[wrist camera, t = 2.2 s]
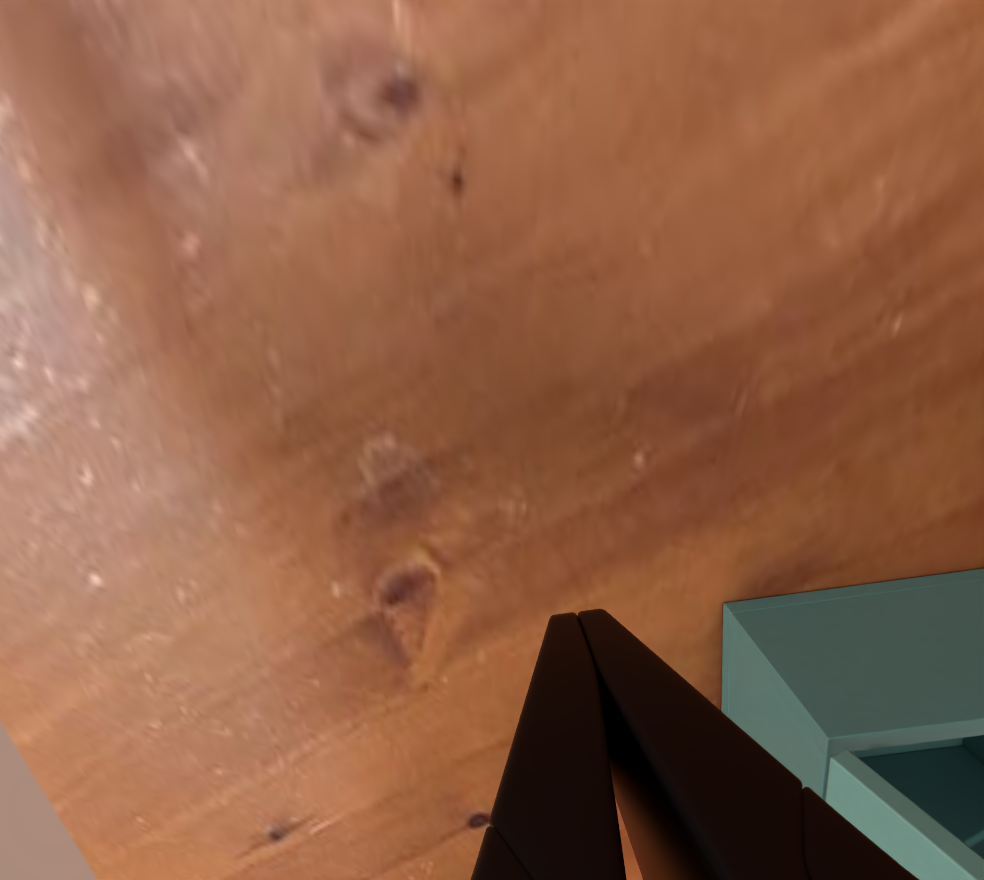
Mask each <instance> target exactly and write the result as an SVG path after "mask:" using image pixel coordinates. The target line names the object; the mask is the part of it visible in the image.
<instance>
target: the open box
mask: <svg viewBox="0 0 984 880" xmlns="http://www.w3.org/2000/svg"><path fill="white" fill-rule="evenodd" d="M721 711H722V712H723V713H724V714H725V715H726V716H727V717H729V718H730V719H731V720H732V721H733V722H734V723H735V724H737V725H738V726H739V727H740V728H741V729H742V730H743V731H745V732H746V733H747V734H748V735H749V736H750V737H752V738H753V739H754V740H755V741H756V742H757V743H758V744H760V745H761V746H762V747H763V748H764V749H765V750H766V751H768V752H769V753H770V754H771V755H772V756H773V757H775V758H776V759H777V760H778V761H779V762H780V763H781V764H783V765H784V766H785V767H786V768H787V769H788V770H789V771H791V772H792V773H793V774H794V775H795V776H796V777H798V778H799V779H800V780H801V782H802V790H803V788H804V787H809V788H811V789H812V790H813V791H814V792H815V793H816V794H817V795H819V796H820V797H821V798H822V799H823V800H824V801H825V799H826V791H827V782H828V774H829V766H830V759H831V757H832V756H834V755H836V754H837V753H839V752H840V751H842V750H843V749H848V750H849V751H850V752H852V753H853V754H854V755H855V756H857V757H858V758H859V759H860V760H862V761H863V762H864V763H865V764H867V765H868V766H869V767H870V768H872V769H873V770H874V771H875V772H877V773H878V774H879V775H880V776H881V777H883V778H884V779H885V780H886V781H888V782H889V783H890V784H891V785H893V786H894V787H895V788H896V789H898V790H899V791H900V792H901V793H903V794H904V795H905V796H906V797H908V798H909V799H910V800H911V801H913V802H914V803H915V804H916V805H918V806H919V807H920V808H921V809H923V810H924V811H925V812H926V813H928V814H929V815H930V816H931V817H932V818H934V819H935V820H936V821H937V822H939V823H940V824H941V825H942V826H944V827H945V828H946V829H947V830H949V831H950V832H951V833H952V834H954V835H955V836H956V837H957V838H959V839H960V840H961V841H962V842H964V843H965V844H966V845H967V846H969V847H970V848H971V849H972V850H974V851H975V852H976V853H977V854H979V855H980V856H981V857H982V858H983V859H984V568H983V569H976V570H968V571H961V572H953V573H946V574H938V575H931V576H923V577H916V578H908V579H901V580H894V581H886V582H879V583H871V584H864V585H856V586H849V587H841V588H834V589H826V590H819V591H811V592H804V593H796V594H789V595H781V596H774V597H766V598H759V599H751V600H744V601H736V602H729V603H724V604H723V652H722V707H721Z"/></svg>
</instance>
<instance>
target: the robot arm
mask: <svg viewBox="0 0 984 880" xmlns="http://www.w3.org/2000/svg"><path fill="white" fill-rule="evenodd" d="M615 798H616V801H617V804H618V807H619V809H620V812H621V815H622V818H623V821H624V824H625V827H626V830H627V833H628V836H629V839H630V842H631V845H632V848H633V851H634V854H635V857H636V860H637V862H638V865H639V868H640V871H641V874H642V877H643V880H919V879H918V878H917V877H915V876H914V875H913V874H912V873H910V872H909V871H908V870H906V869H905V868H904V867H903V866H901V865H900V864H899V863H898V862H897V861H895V860H894V859H893V858H892V857H891V856H889V855H888V854H887V853H886V852H885V851H883V850H882V849H881V848H880V847H879V846H877V845H876V844H875V843H874V842H873V841H871V840H870V839H869V838H868V837H867V836H866V835H864V834H863V833H862V832H861V831H860V830H858V829H857V828H856V827H855V826H854V825H852V824H851V823H850V822H849V821H848V820H846V819H845V818H844V817H843V816H842V815H840V814H839V813H838V812H837V811H836V810H835V809H834V808H832V807H831V806H830V805H829V804H828V803H827V802H826V801H824V800H823V799H822V798H821V797H820V796H819V795H817V794H816V793H815V792H814V791H813V790H812V789H811V788H809V787H804V788H803V790H802V782H801V780H800V779H799V778H798V777H796V776H795V775H794V774H793V773H792V772H791V771H789V770H788V769H787V768H786V767H785V766H784V765H783V764H781V763H780V762H779V761H778V760H777V759H776V758H775V757H773V756H772V755H771V754H770V753H769V752H768V751H766V750H765V749H764V748H763V747H762V746H761V745H760V744H758V743H757V742H756V741H755V740H754V739H753V738H752V737H750V736H749V735H748V734H747V733H746V732H745V731H743V730H742V729H741V728H740V727H739V726H738V725H737V724H735V723H734V722H733V721H732V720H731V719H730V718H729V717H727V716H726V715H725V714H724V713H723V712H722V711H720V710H719V709H718V708H717V707H716V706H715V705H714V704H712V703H711V702H710V701H709V700H708V699H707V698H706V697H704V696H703V695H702V694H701V693H700V692H699V691H697V690H696V689H695V688H694V687H693V686H692V685H691V684H689V683H688V682H687V681H686V680H685V679H684V678H683V677H681V676H680V675H679V674H678V673H677V672H676V671H674V670H673V669H672V668H671V667H670V666H669V665H668V664H666V663H665V662H664V661H663V660H662V659H661V658H660V657H658V656H657V655H656V654H655V653H654V652H653V651H651V650H650V649H649V648H648V647H647V646H646V645H645V644H643V643H642V642H641V641H640V640H639V639H638V638H636V637H635V636H634V635H633V634H632V633H631V632H630V631H628V630H627V629H626V628H625V627H624V626H623V625H622V624H620V623H619V622H618V621H617V620H616V619H615V618H613V617H612V616H611V615H610V614H609V613H608V612H607V611H605V610H603V609H594V610H586V611H581V612H579V613H578V616H577V615H576V614H575V613H572V612H571V613H564V614H557V615H552V616H551V617H550V619H549V622H548V626H547V629H546V632H545V636H544V639H543V642H542V646H541V649H540V652H539V656H538V659H537V662H536V666H535V669H534V672H533V676H532V679H531V682H530V686H529V689H528V692H527V696H526V699H525V702H524V706H523V709H522V712H521V716H520V719H519V723H518V726H517V729H516V733H515V736H514V739H513V743H512V746H511V749H510V753H509V756H508V759H507V763H506V766H505V769H504V773H503V776H502V779H501V783H500V786H499V789H498V793H497V796H496V799H495V803H494V806H493V809H492V813H491V816H490V820H489V824H490V826H489V827H487V829H486V832H485V835H484V838H483V842H482V845H481V848H480V852H479V855H478V858H477V862H476V865H475V868H474V871H473V874H472V877H471V880H626V873H625V866H624V859H623V852H622V844H621V837H620V830H619V823H618V816H617V809H616V801H615Z"/></svg>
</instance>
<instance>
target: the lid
mask: <svg viewBox="0 0 984 880" xmlns="http://www.w3.org/2000/svg"><path fill="white" fill-rule="evenodd" d="M825 801H826V802H827V803H828V804H829V805H830V806H831V807H832V808H834V809H835V810H836V811H837V812H838V813H839V814H840V815H842V816H843V817H844V818H845V819H846V820H848V821H849V822H850V823H851V824H852V825H854V826H855V827H856V828H857V829H858V830H860V831H861V832H862V833H863V834H864V835H866V836H867V837H868V838H869V839H870V840H871V841H873V842H874V843H875V844H876V845H877V846H879V847H880V848H881V849H882V850H883V851H885V852H886V853H887V854H888V855H889V856H891V857H892V858H893V859H894V860H895V861H897V862H898V863H899V864H900V865H901V866H903V867H904V868H905V869H906V870H908V871H909V872H910V873H912V874H913V875H914V876H915V877H917V878H918V879H919V880H984V859H983V858H982V857H981V856H980V855H979V854H977V853H976V852H975V851H974V850H972V849H971V848H970V847H969V846H967V845H966V844H965V843H964V842H962V841H961V840H960V839H959V838H957V837H956V836H955V835H954V834H952V833H951V832H950V831H949V830H947V829H946V828H945V827H944V826H942V825H941V824H940V823H939V822H937V821H936V820H935V819H934V818H932V817H931V816H930V815H929V814H928V813H926V812H925V811H924V810H923V809H921V808H920V807H919V806H918V805H916V804H915V803H914V802H913V801H911V800H910V799H909V798H908V797H906V796H905V795H904V794H903V793H901V792H900V791H899V790H898V789H896V788H895V787H894V786H893V785H891V784H890V783H889V782H888V781H886V780H885V779H884V778H883V777H881V776H880V775H879V774H878V773H877V772H875V771H874V770H873V769H872V768H870V767H869V766H868V765H867V764H865V763H864V762H863V761H862V760H860V759H859V758H858V757H857V756H855V755H854V754H853V753H852V752H850V751H849V750H848V749H843V750H842V751H840V752H839V753H837V754H836V755H834V756H832V757H831V759H830V766H829V774H828V782H827V791H826V799H825Z"/></svg>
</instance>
